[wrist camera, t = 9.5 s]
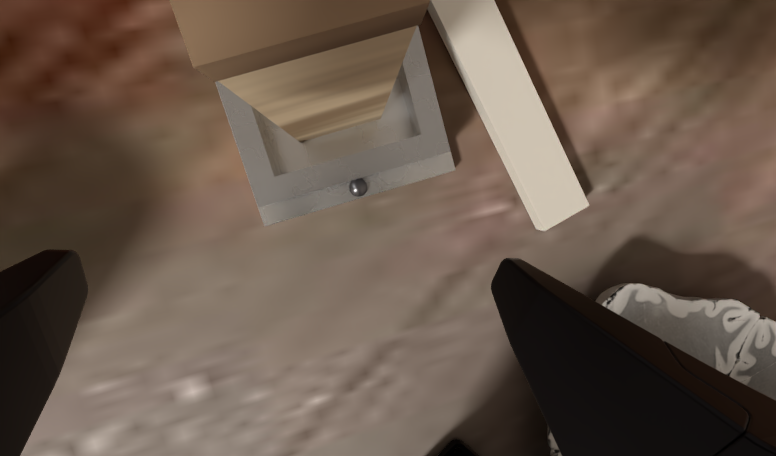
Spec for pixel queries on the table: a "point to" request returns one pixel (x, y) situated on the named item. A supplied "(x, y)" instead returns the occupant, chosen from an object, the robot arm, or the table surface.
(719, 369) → the brain slice
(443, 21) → the door edge strip
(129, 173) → the table surface
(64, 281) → the robot arm
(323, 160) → the keeper
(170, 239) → the table surface
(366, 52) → the block
